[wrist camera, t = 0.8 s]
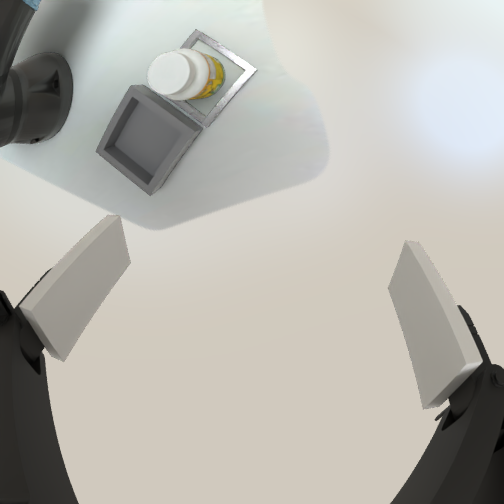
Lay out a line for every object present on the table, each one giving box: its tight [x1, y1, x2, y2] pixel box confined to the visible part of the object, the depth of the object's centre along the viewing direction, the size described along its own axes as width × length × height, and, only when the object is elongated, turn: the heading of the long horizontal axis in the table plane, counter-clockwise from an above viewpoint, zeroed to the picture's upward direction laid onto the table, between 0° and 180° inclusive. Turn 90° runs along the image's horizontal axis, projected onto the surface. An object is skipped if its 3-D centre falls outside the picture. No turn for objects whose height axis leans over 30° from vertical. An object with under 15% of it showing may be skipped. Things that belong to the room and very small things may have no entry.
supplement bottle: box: [147, 48, 225, 100], centre depth 22 cm, size 5×5×10 cm
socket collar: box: [166, 29, 257, 127], centre depth 26 cm, size 9×9×1 cm
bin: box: [96, 85, 203, 196], centre depth 30 cm, size 10×10×3 cm
